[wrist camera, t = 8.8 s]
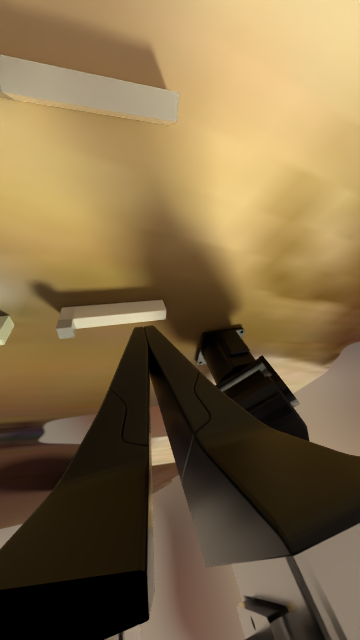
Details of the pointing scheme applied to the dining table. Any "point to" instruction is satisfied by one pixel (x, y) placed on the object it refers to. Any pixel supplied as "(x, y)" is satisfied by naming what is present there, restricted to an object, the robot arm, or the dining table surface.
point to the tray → (5, 328)
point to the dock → (102, 98)
